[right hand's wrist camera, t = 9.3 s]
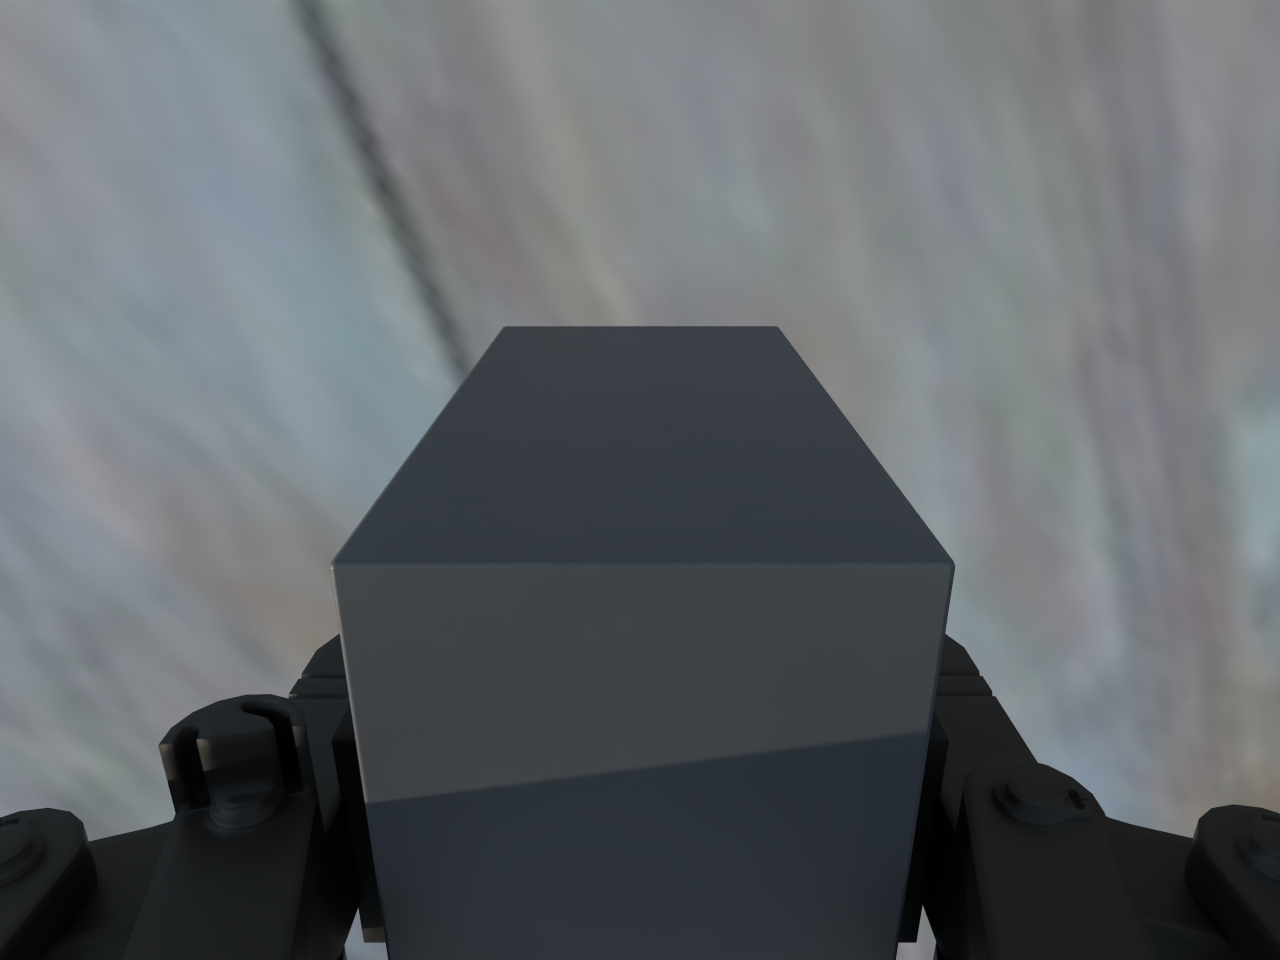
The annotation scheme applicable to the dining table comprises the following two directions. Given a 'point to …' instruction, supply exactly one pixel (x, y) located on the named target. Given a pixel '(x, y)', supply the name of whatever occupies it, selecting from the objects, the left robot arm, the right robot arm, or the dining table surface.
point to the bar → (642, 660)
